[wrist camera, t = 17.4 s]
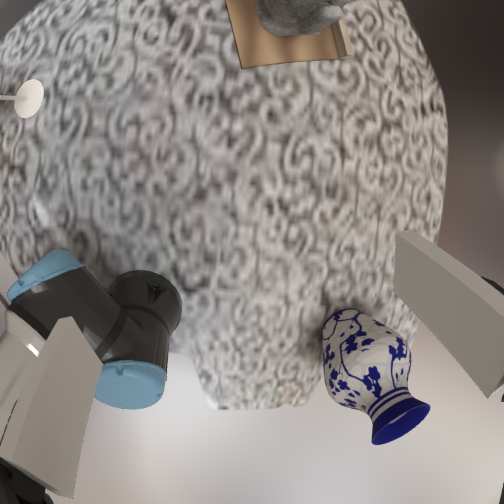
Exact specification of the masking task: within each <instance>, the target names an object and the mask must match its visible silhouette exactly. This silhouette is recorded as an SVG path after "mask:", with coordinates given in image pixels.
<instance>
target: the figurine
mask: <svg viewBox="0 0 504 504" xmlns="http://www.w3.org/2000/svg"><path fill="white" fill-rule="evenodd" d="M352 1H356V0H255V5H256V9H257V11H258V13H259V14H258V16H259V19H260V23H261V25H262V27H263V28H264V29H265V30H266V31H268V32H269V33H271V34H273V35H275V36H277V37H278V36H295V35H316V34H320V31H322V30H324V29H325V28H327V27H329V26H330V24H334V23H335V22H337V21H339V20H340V19H342V11H341V8H342V7H343V6H345V5H346V4H347V3H348V2H352Z"/></svg>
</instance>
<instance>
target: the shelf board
mask: <svg viewBox="0 0 504 504" xmlns="http://www.w3.org/2000/svg"><path fill="white" fill-rule="evenodd" d="M225 2H226V6H227V10H228V14H229V18H230V22H231V26H232V30H233V34H234V38H235V42H236V46H237V50H238V54H239V58H240V63H241V67H242V69H245V68H251V67H258V66H265V65H272V64H281V63H291V62H302V61H318V60H343V59H346V58H348V57H351V56H354V53H353V49H352V45H351V41H350V37H349V34H348V30H347V26H346V23H345V19H344V16H343V13H342V19H340V20H339V21H337V22H335V23H334V24H330V26H329V27H327V28H325V29H324V30H322V31H320V34H316V35H295V36H278V37H277V36H275V35H273V34H271V33H269V32H268V31H266V30H265V29H264V28H263V27H262V25H261V23H260V19H259V16H258V14H259V13H258V11H257V9H256V5H255V0H225ZM341 11H342V9H341Z"/></svg>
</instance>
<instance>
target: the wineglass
mask: <svg viewBox="0 0 504 504" xmlns="http://www.w3.org/2000/svg"><path fill="white" fill-rule="evenodd" d="M43 95H44V90H43V86H42V84H41V82H40V81H38V80H36V79H31V80H28V81H26V82H25V83H24V84H23V85H22V86H21V87H20V88H19V90H18V92H17V94H16V96H6V95H0V100H15V104H14V106H15V111H16V113H17V115H18V116H20V117H21V118H28V117H31V116H32V115H34V114H35V113H36V112H37V110H38V109H39V107H40V106H41V104H42V100H43Z"/></svg>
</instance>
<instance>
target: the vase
mask: <svg viewBox="0 0 504 504" xmlns="http://www.w3.org/2000/svg"><path fill="white" fill-rule="evenodd" d="M322 344H323V368H324V378H325V384H326V387H327V390H328V393H329V395H330V396H331V397H332V399H333V400H334V401H335V402H337V403H338V404H340V405H342V406H344V407H348V408H352V409H356V410H360V411H363V412H365V413H366V414H368V415H369V417H370V418H371V420H372V424H373V430H372V444H374V445H381V444H385V443H388V442H390V441H393V440H395V439H397V438H399V437H401V436H403V435H404V434H406V433H408V432H409V431H410V430H412V429H413V428H415V427H416V425H418V424H419V423H420V422H421V421H422V420H423V419H424V418H425V417H426V415H427V414H428V412H429V411H430V405H428V404H427V403H424V402H422V401H419V400H417V399H415V398H414V397H413V396H412V395H411V394H410V393H409V391H408V387H407V386H408V384H407V383H408V382H407V381H408V376H409V372H410V368H411V361H412V356H411V351H410V348H409V345H408V343H407V342H406V341H405V340H404V339H403V338H402V337H401V336H400V335H399V334H398V333H397V332H395V331H393V330H392V329H390V328H389V327H387V326H385V325H383V324H382V323H380V322H378V321H376V320H374V319H372V318H370V317H369V316H367V315H365V314H363V313H361V312H359V311H358V310H355V309H345V310H341V311H339V312H337V313H335V314H334V315H332V316H331V317H330V318H329V319H328V320H327V321H326V323H325V324H324V326H323V329H322Z"/></svg>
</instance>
